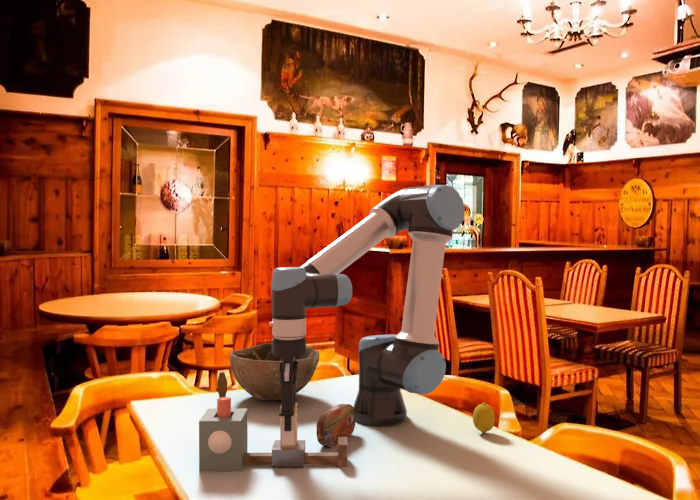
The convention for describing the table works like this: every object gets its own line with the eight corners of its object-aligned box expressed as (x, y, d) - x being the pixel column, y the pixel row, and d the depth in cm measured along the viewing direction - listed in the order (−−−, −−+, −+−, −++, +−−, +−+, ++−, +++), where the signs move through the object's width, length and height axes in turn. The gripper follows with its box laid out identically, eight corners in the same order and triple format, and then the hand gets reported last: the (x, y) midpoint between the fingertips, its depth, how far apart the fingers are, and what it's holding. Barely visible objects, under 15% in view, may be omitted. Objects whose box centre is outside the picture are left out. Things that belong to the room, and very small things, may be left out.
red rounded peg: (232, 432, 133) (232, 397, 133) (229, 436, 130) (229, 400, 130) (218, 432, 133) (218, 397, 133) (215, 436, 130) (215, 400, 130)
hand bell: (231, 441, 146) (231, 377, 145) (200, 438, 147) (200, 375, 147) (244, 430, 154) (244, 369, 153) (214, 427, 155) (214, 367, 155)
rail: (346, 458, 135) (347, 437, 134) (347, 467, 130) (347, 444, 129) (246, 458, 134) (246, 437, 134) (242, 467, 129) (242, 445, 129)
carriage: (305, 456, 135) (305, 401, 135) (303, 467, 129) (303, 409, 129) (274, 456, 135) (274, 401, 134) (271, 467, 129) (271, 409, 128)
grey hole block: (247, 455, 136) (247, 408, 136) (240, 472, 127) (240, 421, 126) (208, 455, 136) (208, 408, 136) (198, 472, 127) (198, 421, 126)
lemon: (496, 431, 153) (496, 401, 153) (492, 438, 148) (492, 407, 148) (475, 428, 155) (475, 398, 155) (470, 435, 150) (470, 404, 150)
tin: (324, 452, 139) (325, 416, 139) (313, 449, 140) (313, 414, 140) (356, 433, 152) (357, 400, 151) (346, 431, 153) (346, 399, 153)
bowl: (329, 390, 193) (329, 344, 192) (305, 415, 166) (305, 362, 166) (250, 384, 199) (250, 340, 198) (215, 407, 173) (214, 357, 172)
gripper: (275, 330, 139) (275, 428, 140) (267, 343, 123) (267, 455, 123) (307, 330, 139) (307, 428, 140) (303, 343, 123) (303, 454, 123)
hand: (288, 440), depth 132 cm, fingers closed on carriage, 3 cm apart
